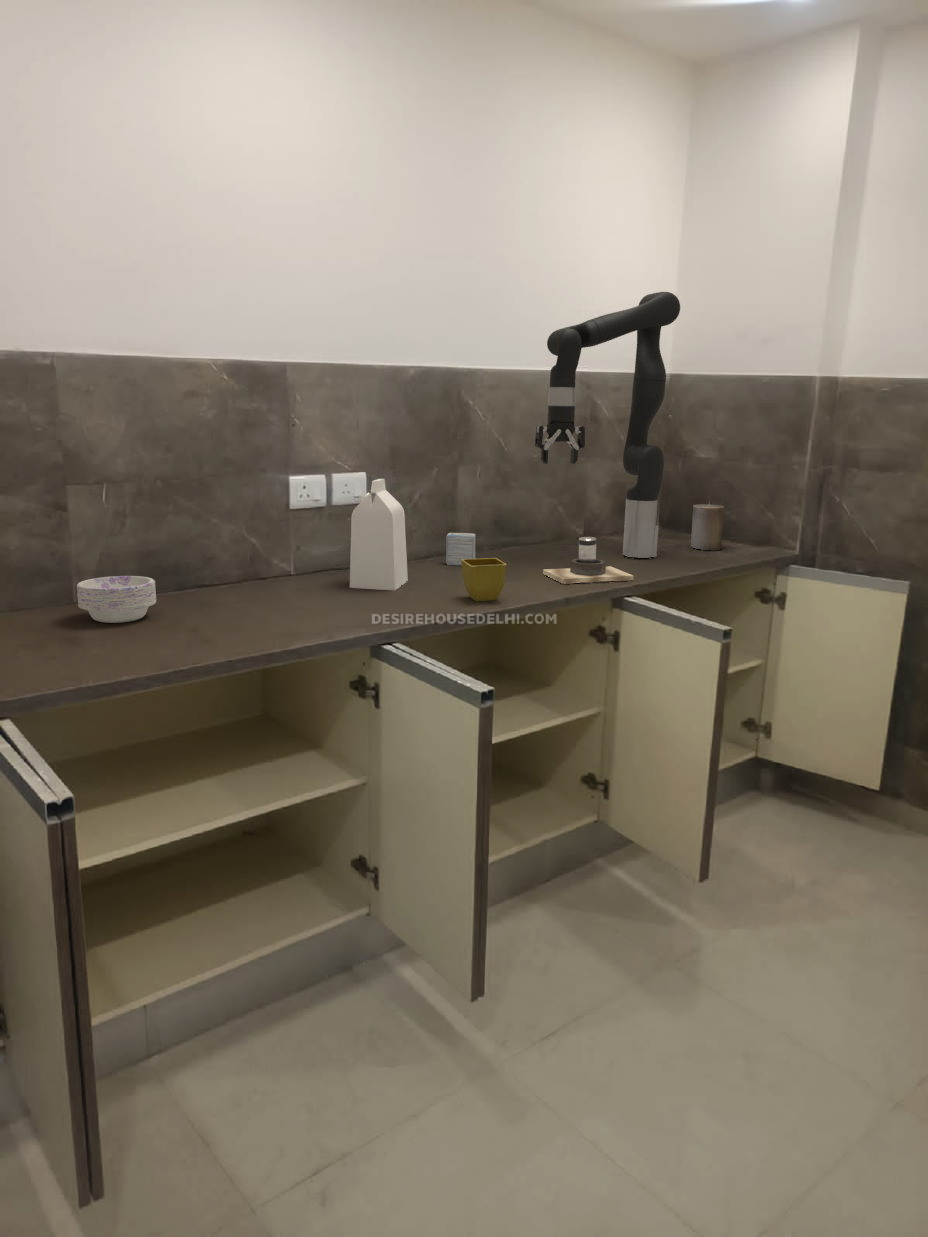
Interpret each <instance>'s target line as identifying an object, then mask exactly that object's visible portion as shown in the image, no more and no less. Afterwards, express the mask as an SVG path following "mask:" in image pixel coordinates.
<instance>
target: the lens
mask: <svg viewBox="0 0 928 1237" xmlns="http://www.w3.org/2000/svg"><path fill="white" fill-rule="evenodd" d="M597 541H598V540H597V537H593V536H583V537H579V538H578V559H579V563H586V564H595V563H596V559H597Z"/></svg>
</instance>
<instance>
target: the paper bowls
mask: <svg viewBox="0 0 928 1237" xmlns="http://www.w3.org/2000/svg"><path fill="white" fill-rule="evenodd" d="M76 590H77V591H76V592H77V593H76V595H77V604H78V605H77V606H78V608H80V609H82V610H84V611H87V612H88V614H89V616H90V617H91V618H92V619H93V620H94V621H96V622H100V623H106V624H117V623H118V624H121V623H127V622H128V623H129V622H135V621H138V620H141V619H142V618H144V617H145V615H146V614H147V611H148V610H149V607H151V606H154V605H155V604H157V594H156V593H157V592H156V591H157V590H156V580H155V579H153V578H151V577H149V576H141V575H140V576H139V575H118V576H117V575H116V576H115V575H114V576H104V577H103V576H102V577H101V576H100V577H94V578H91V579H90V578H89V579H86V580H82V581H80V582H78V583H77V584H76Z"/></svg>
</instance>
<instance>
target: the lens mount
mask: <svg viewBox="0 0 928 1237" xmlns="http://www.w3.org/2000/svg"><path fill="white" fill-rule="evenodd" d="M543 574H544V575H547V576H548V577H550V578H553V579H554V580H556V581H559V582H561V583H564V584H566V583H580V582H594V581H621V580H633V581H634V575H633V574H630V573H628V572H625V571H623V570H622V569H621V570H620V569H618V568H616V567H613V566H607V562H606V561H605V560H603V559H597V558H596V563H595V564H586V563H579V558H574V559H572V560H570V567H569V568H567V567H566V568H549V569H545V568H544V569H542V575H543ZM544 575H543V576H544ZM548 577H547V578H548ZM550 578H549V579H550ZM554 580H553V581H554ZM556 581H555V582H556Z"/></svg>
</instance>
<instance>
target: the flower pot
mask: <svg viewBox="0 0 928 1237" xmlns="http://www.w3.org/2000/svg"><path fill="white" fill-rule="evenodd" d="M461 564H462V565H461V572H462V573H461V574H462V579H463V583H464V584H463V585H464V587H465V589H466V591H467V594H468V595H469V597H470V598H471V599H473V600H474V601H475V602H488V601H489V602H490V601H496V600H497V599H498V598H499V596H500V595H501V593H502V592H503V589H504V585H505V580H506V573H507V566H508V565H507V563H506V562H503V560H500V559H499V558H497V557H489V558H488V557H487V558H485V557H484V558H475V559H462V560H461Z"/></svg>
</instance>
